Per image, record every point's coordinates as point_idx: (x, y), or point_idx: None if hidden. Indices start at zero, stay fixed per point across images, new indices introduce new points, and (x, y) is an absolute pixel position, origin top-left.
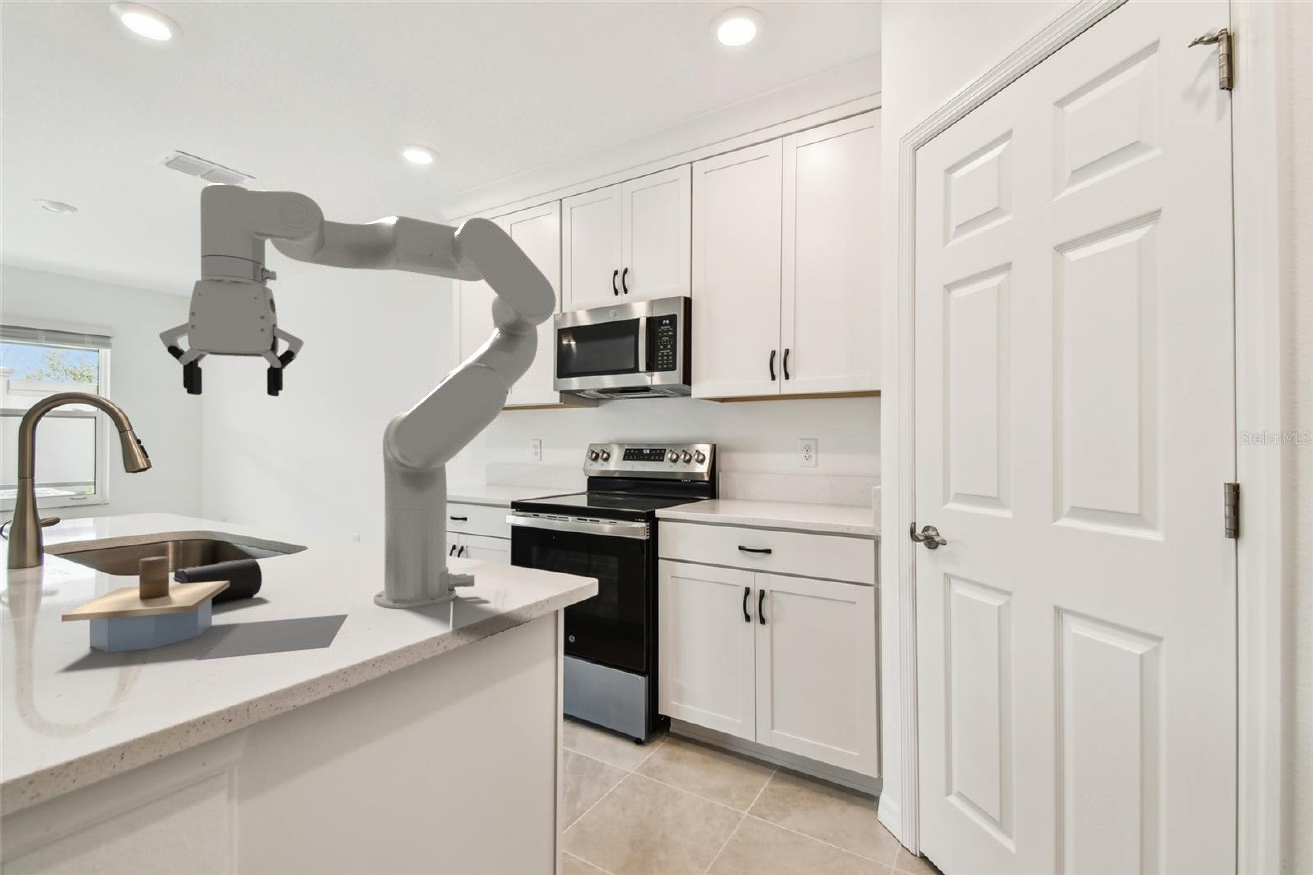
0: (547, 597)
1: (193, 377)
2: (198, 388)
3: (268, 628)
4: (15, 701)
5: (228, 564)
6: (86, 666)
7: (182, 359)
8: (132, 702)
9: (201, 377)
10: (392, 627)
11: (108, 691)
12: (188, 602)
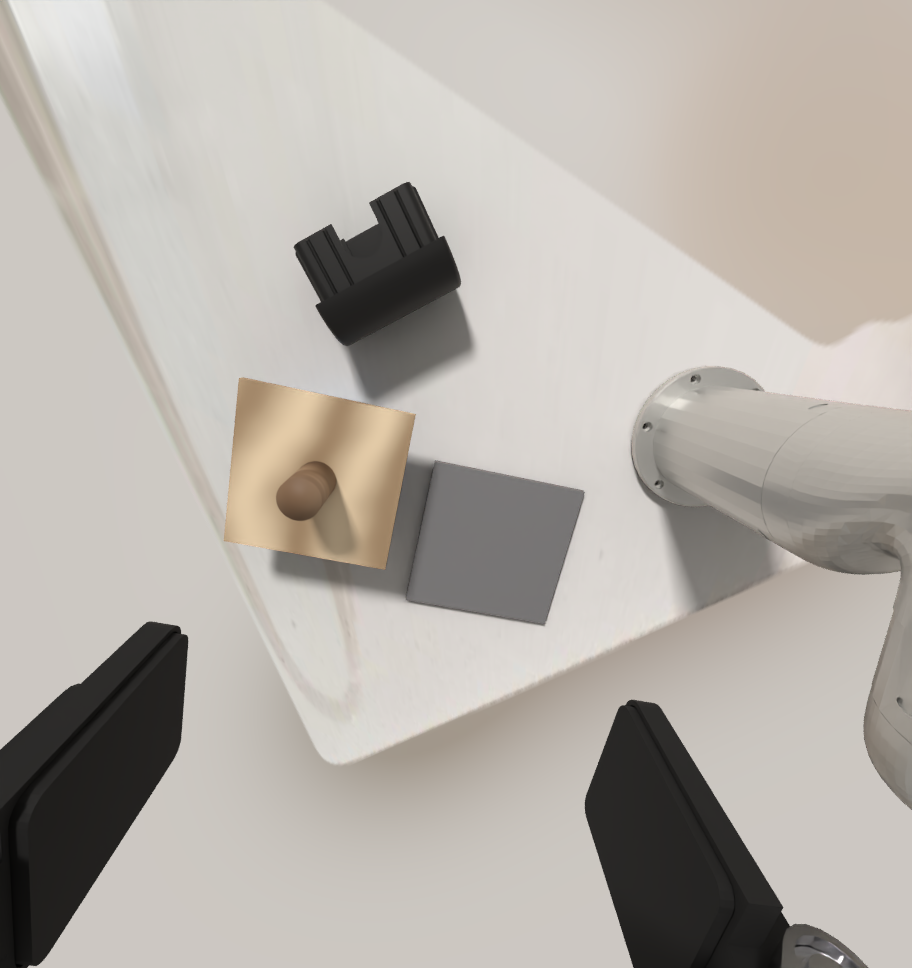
0: None
1: (111, 849)
2: (164, 704)
3: (476, 510)
4: (258, 622)
5: (397, 279)
6: None
7: None
8: (367, 673)
9: (103, 726)
10: (629, 564)
11: (336, 635)
12: (377, 549)
